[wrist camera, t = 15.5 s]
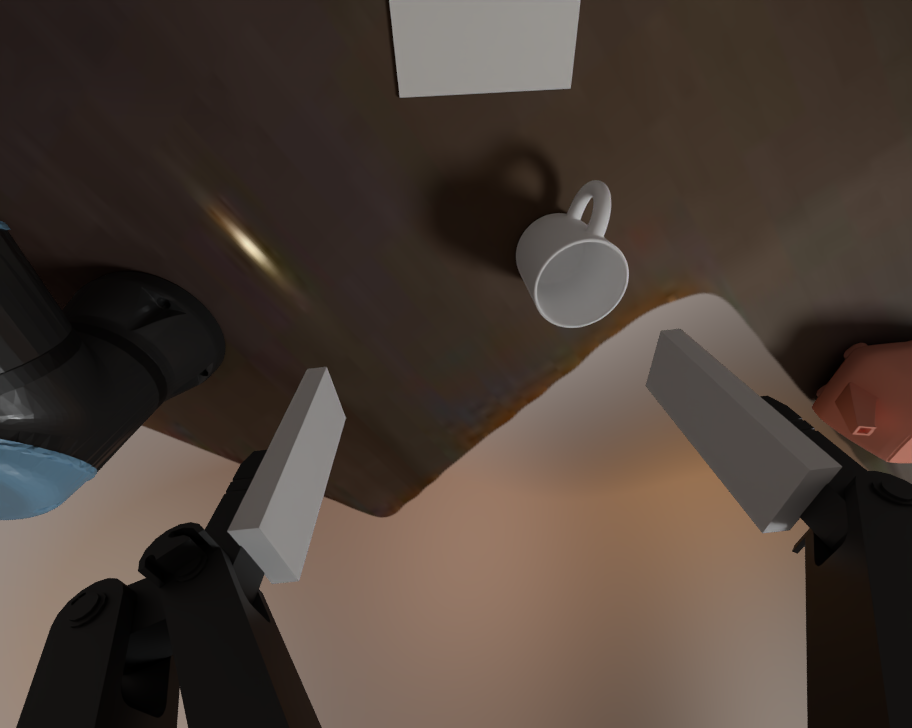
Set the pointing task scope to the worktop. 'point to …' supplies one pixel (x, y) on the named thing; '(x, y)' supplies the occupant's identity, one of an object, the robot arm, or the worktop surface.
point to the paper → (483, 45)
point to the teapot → (872, 399)
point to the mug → (573, 262)
